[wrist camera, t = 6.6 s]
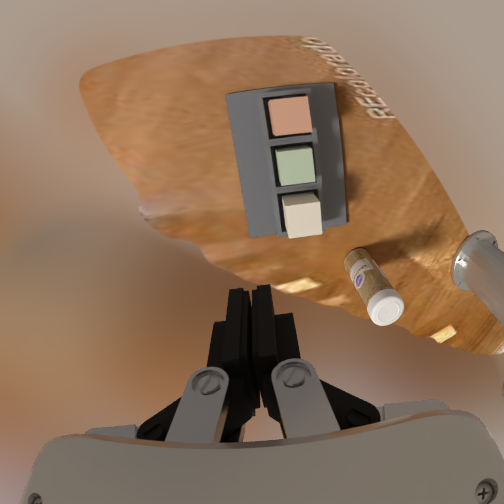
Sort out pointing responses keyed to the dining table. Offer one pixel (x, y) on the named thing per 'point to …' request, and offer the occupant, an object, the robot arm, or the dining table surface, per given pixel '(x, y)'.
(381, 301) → the sprinkles bottle
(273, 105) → the terracotta button
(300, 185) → the button panel
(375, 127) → the dining table surface
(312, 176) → the green button
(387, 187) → the dining table surface
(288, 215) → the cream button
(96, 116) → the dining table surface
